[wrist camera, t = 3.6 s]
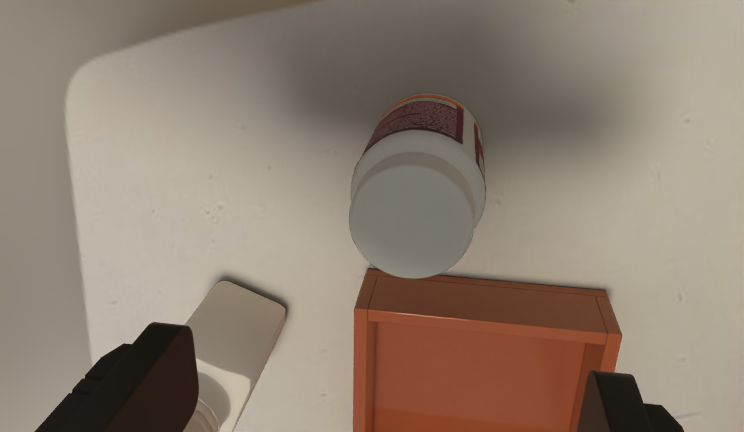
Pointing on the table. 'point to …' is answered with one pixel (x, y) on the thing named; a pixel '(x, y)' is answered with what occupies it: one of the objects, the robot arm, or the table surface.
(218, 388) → the pepper shaker
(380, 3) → the table surface
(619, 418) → the robot arm
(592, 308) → the terracotta tray
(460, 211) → the pill bottle
